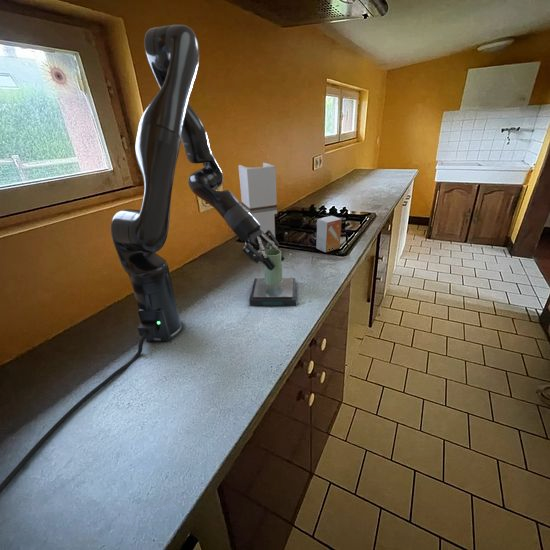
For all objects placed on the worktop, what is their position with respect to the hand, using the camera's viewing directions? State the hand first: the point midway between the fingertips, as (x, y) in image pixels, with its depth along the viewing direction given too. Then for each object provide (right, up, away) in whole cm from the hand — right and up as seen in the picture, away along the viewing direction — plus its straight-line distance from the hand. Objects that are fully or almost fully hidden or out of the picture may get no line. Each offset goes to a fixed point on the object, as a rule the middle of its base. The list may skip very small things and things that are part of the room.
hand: (277, 264), depth 92 cm
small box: (+22, +8, +37) cm, 44 cm away
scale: (-1, -9, +6) cm, 11 cm away
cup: (-1, -5, +4) cm, 6 cm away
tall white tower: (-6, +6, +35) cm, 36 cm away
